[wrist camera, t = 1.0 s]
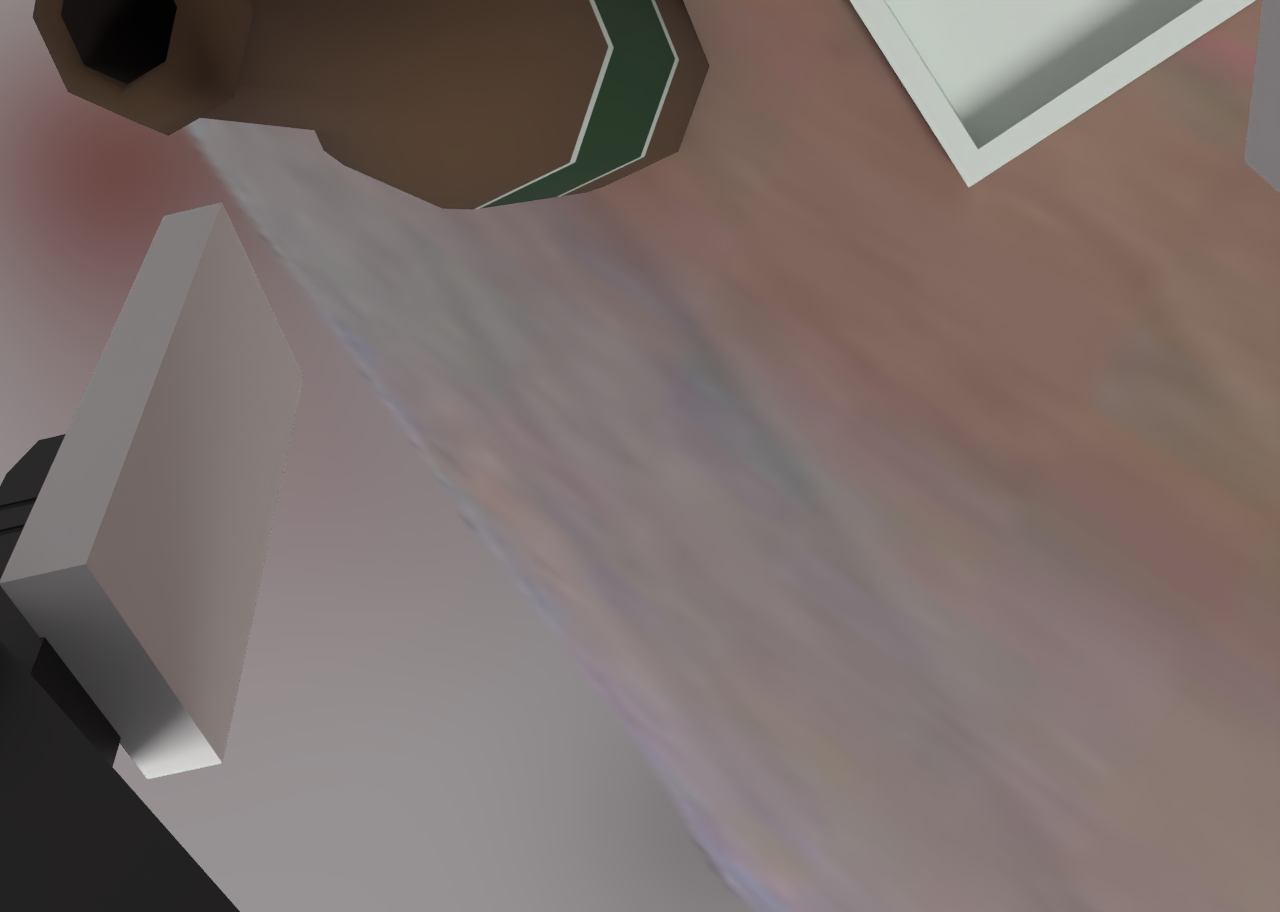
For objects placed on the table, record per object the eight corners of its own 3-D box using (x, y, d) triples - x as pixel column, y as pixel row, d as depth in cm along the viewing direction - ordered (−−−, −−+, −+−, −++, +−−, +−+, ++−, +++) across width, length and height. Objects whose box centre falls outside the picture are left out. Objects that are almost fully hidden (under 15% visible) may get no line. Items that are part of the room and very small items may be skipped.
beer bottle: (597, -106, 40) (58, -389, 18) (763, 64, 40) (427, -12, 18) (455, 78, 43) (-157, 29, 21) (608, 236, 43) (154, 355, 21)
